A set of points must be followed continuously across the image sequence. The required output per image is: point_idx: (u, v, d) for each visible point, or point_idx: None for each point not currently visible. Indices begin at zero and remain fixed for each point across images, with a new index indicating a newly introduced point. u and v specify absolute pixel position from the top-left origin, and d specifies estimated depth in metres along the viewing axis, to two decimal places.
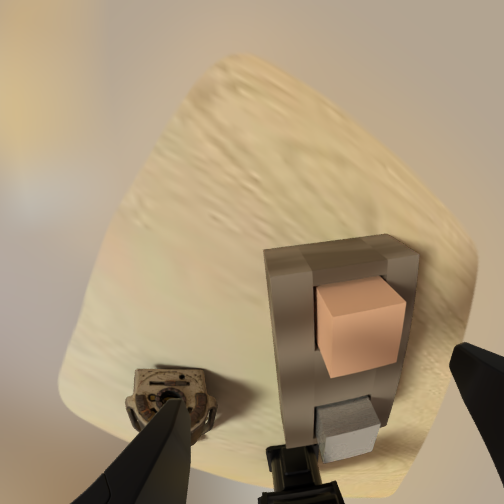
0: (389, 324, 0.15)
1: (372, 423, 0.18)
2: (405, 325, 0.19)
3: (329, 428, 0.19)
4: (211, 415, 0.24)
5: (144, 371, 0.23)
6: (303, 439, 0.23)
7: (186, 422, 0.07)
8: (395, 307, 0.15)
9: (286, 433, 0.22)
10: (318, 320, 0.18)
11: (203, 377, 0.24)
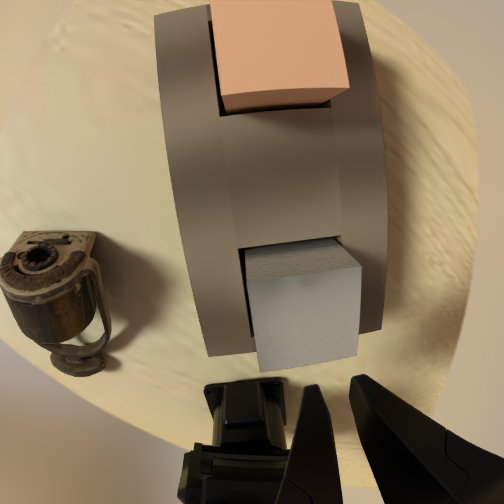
0: (309, 11, 0.08)
1: (344, 266, 0.11)
2: (369, 97, 0.12)
3: (256, 272, 0.12)
4: (96, 296, 0.16)
5: (28, 232, 0.16)
6: (233, 336, 0.15)
7: None
8: None
9: (199, 315, 0.15)
10: None
11: (91, 239, 0.17)
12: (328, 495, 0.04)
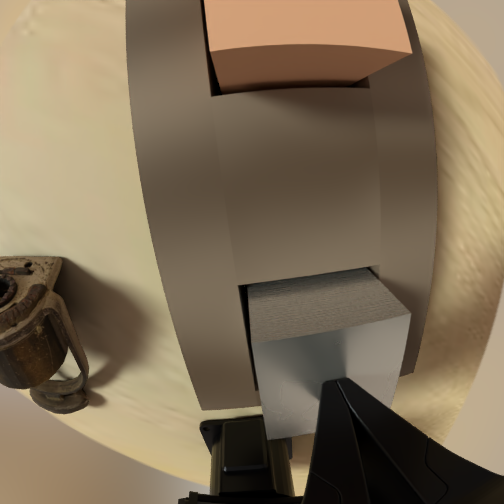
0: None
1: (388, 313, 0.07)
2: (417, 78, 0.08)
3: (265, 322, 0.08)
4: (63, 336, 0.13)
5: None
6: (233, 390, 0.11)
7: None
8: None
9: (189, 366, 0.11)
10: None
11: (56, 267, 0.13)
12: (355, 489, 0.04)
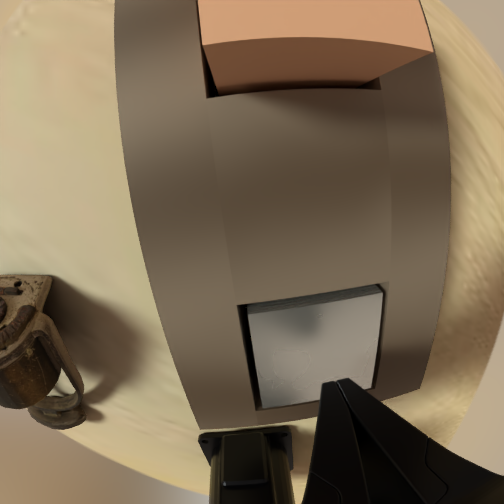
0: None
1: (363, 292, 0.09)
2: (430, 80, 0.07)
3: None
4: (55, 356, 0.12)
5: None
6: (232, 410, 0.10)
7: None
8: None
9: (185, 387, 0.10)
10: None
11: (45, 286, 0.13)
12: (355, 488, 0.04)
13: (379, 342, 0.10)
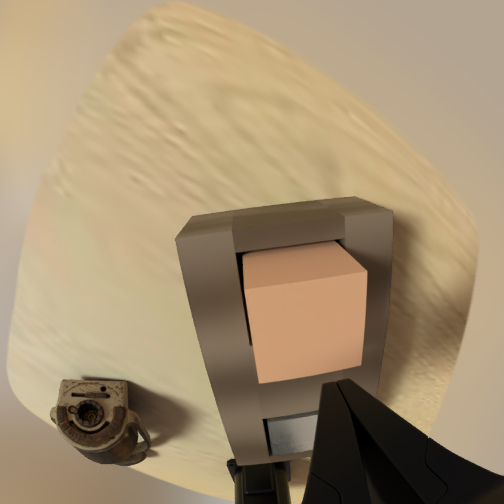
0: (342, 306, 0.10)
1: None
2: (380, 314, 0.14)
3: None
4: (138, 431, 0.19)
5: (68, 382, 0.19)
6: (256, 456, 0.18)
7: None
8: (349, 279, 0.10)
9: (232, 448, 0.17)
10: None
11: (125, 390, 0.20)
12: (355, 489, 0.04)
13: None
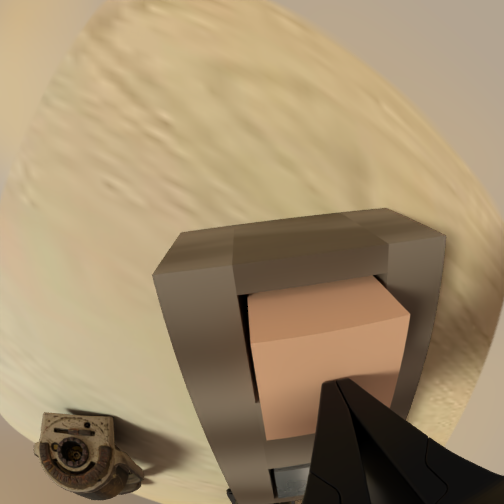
0: (375, 357, 0.08)
1: None
2: (416, 360, 0.11)
3: None
4: (128, 469, 0.16)
5: (50, 416, 0.16)
6: (260, 499, 0.14)
7: None
8: (388, 325, 0.07)
9: (234, 493, 0.14)
10: None
11: (111, 427, 0.17)
12: (355, 488, 0.04)
13: None
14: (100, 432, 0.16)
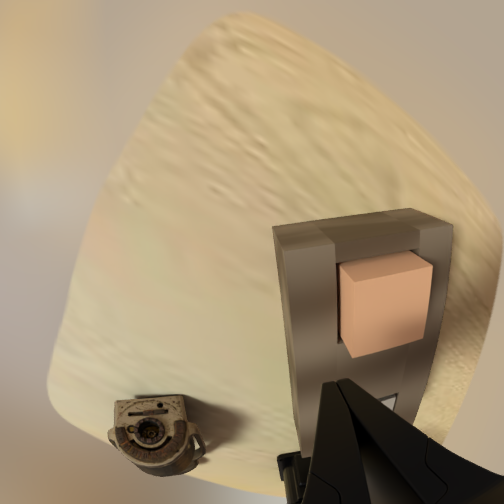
0: (415, 292, 0.13)
1: (387, 397, 0.18)
2: (438, 310, 0.16)
3: None
4: (197, 441, 0.21)
5: (123, 402, 0.21)
6: None
7: None
8: (421, 271, 0.13)
9: (302, 441, 0.19)
10: None
11: (182, 403, 0.22)
12: (355, 489, 0.04)
13: None
14: (173, 409, 0.21)
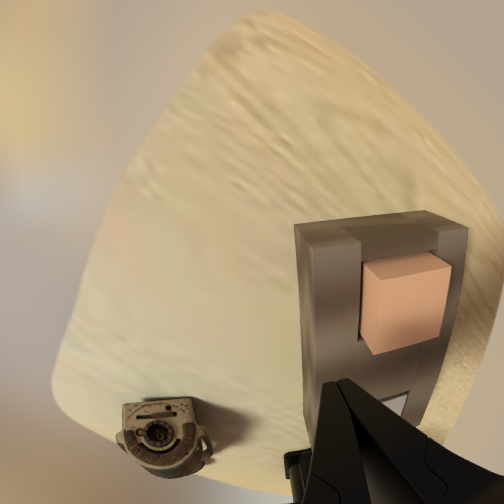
0: (435, 291, 0.13)
1: (399, 394, 0.18)
2: (451, 310, 0.16)
3: None
4: (205, 443, 0.21)
5: (131, 405, 0.21)
6: None
7: None
8: (441, 272, 0.13)
9: None
10: None
11: (191, 406, 0.22)
12: (355, 488, 0.04)
13: None
14: (182, 412, 0.21)
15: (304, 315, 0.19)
